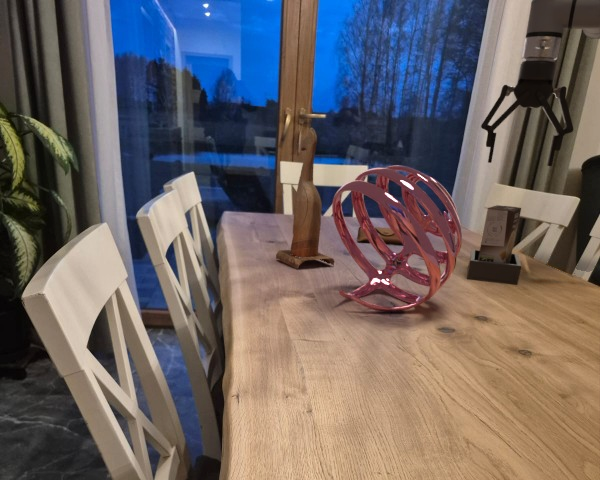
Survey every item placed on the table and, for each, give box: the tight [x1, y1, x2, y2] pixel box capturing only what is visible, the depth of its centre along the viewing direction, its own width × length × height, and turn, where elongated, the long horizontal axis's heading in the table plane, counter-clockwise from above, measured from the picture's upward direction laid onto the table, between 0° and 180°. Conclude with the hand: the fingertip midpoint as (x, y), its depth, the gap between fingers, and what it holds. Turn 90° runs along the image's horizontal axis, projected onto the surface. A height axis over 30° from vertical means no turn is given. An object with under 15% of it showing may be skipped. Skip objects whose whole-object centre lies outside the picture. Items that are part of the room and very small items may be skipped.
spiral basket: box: [331, 164, 463, 313], centre depth 114 cm, size 28×28×27 cm
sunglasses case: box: [356, 226, 403, 246], centre depth 181 cm, size 18×7×7 cm
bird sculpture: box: [275, 127, 335, 270], centre depth 142 cm, size 11×12×32 cm
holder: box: [466, 248, 522, 285], centre depth 147 cm, size 12×15×5 cm
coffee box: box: [478, 204, 522, 264], centre depth 144 cm, size 9×6×16 cm
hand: (519, 164), depth 137 cm, fingers open, 13 cm apart
